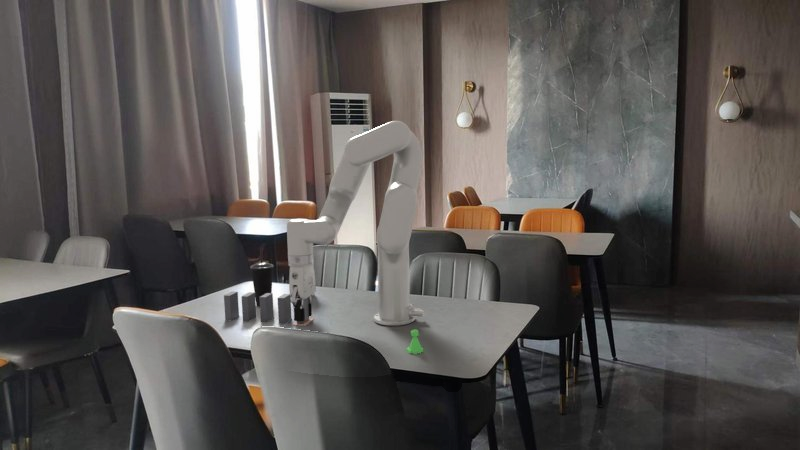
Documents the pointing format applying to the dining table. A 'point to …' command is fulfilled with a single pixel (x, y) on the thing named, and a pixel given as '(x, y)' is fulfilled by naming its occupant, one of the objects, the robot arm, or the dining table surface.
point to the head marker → (304, 323)
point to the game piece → (415, 343)
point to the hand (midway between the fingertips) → (303, 317)
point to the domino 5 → (306, 309)
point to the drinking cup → (262, 278)
